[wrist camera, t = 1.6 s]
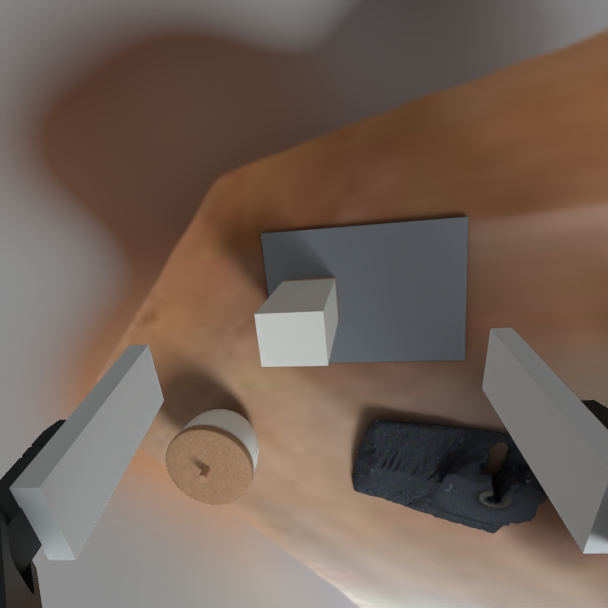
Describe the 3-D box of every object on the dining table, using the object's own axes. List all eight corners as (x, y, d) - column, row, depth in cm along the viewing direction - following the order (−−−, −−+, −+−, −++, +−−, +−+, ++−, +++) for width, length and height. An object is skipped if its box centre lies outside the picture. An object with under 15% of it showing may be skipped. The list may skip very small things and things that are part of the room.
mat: (463, 357, 45) (465, 360, 44) (278, 361, 49) (277, 363, 48) (466, 216, 40) (468, 217, 40) (261, 233, 44) (260, 233, 44)
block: (338, 319, 45) (328, 365, 34) (288, 321, 46) (261, 366, 35) (335, 277, 44) (323, 311, 33) (283, 280, 45) (254, 314, 34)
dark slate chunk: (372, 393, 49) (372, 415, 44) (553, 438, 47) (572, 466, 42) (345, 488, 54) (343, 516, 49) (508, 533, 52) (521, 566, 47)
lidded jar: (266, 397, 51) (244, 442, 42) (270, 465, 54) (250, 521, 45) (188, 392, 53) (151, 434, 44) (197, 458, 56) (164, 511, 47)
